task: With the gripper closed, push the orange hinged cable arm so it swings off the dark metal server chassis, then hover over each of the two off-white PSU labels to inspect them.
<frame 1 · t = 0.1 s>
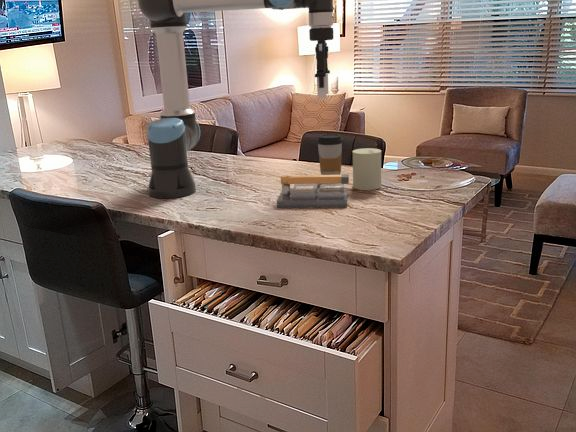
hand: (323, 96, 191), 28 cm above the worktop, fingers open, 13 cm apart
cable arm: (314, 179, 174), point 7 cm above the worktop, hinge at 0.0°
coffee cup: (330, 180, 199), on the worktop
chassis: (313, 200, 176), on the worktop
can: (367, 187, 189), on the worktop
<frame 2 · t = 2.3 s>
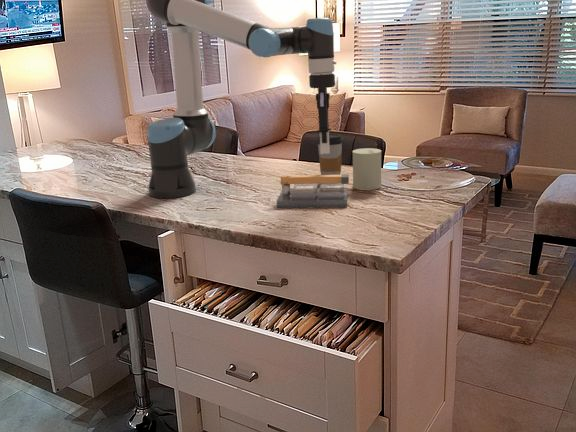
hand: (325, 153, 180), 13 cm above the worktop, fingers closed
nothing on the worktop moved.
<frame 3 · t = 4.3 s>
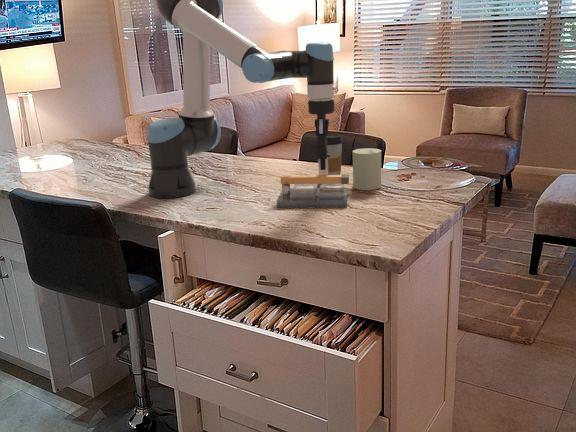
hand: (323, 179, 175), 6 cm above the worktop, fingers closed
cable arm: (314, 179, 174), point 6 cm above the worktop, hinge at 1.1°, touching gripper
everything else where it was.
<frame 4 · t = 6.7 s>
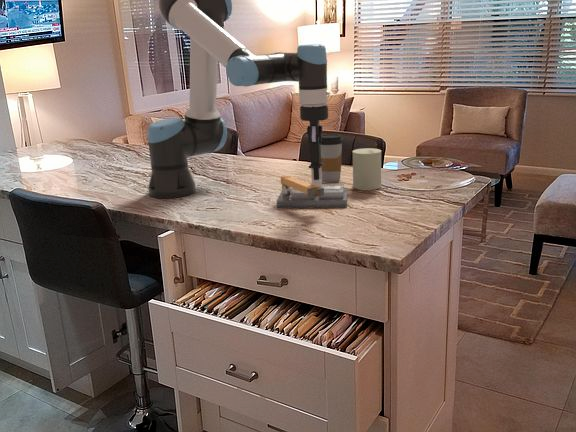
hand: (317, 189, 165), 6 cm above the worktop, fingers closed
cable arm: (299, 185, 168), point 7 cm above the worktop, hinge at 55.7°, touching gripper
everything else where it was.
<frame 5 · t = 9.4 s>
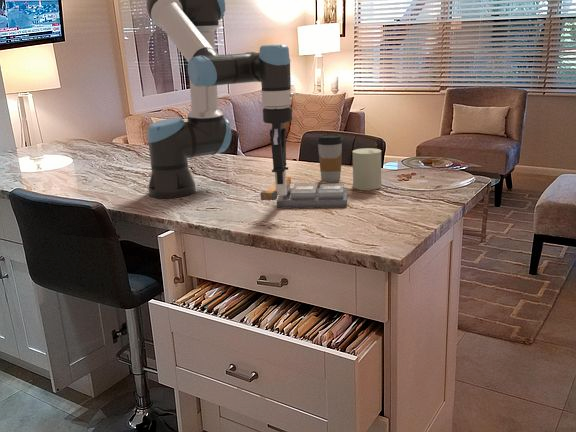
hand: (281, 194, 160), 6 cm above the worktop, fingers closed
cable arm: (278, 187, 167), point 7 cm above the worktop, hinge at 98.2°
everything else where it was.
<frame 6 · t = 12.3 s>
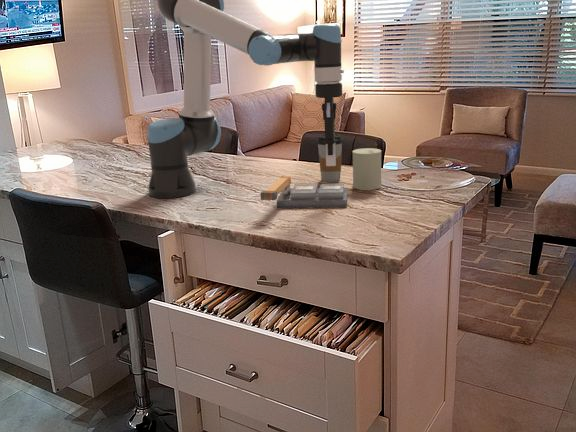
hand: (330, 165, 172), 11 cm above the worktop, fingers closed
nothing on the worktop moved.
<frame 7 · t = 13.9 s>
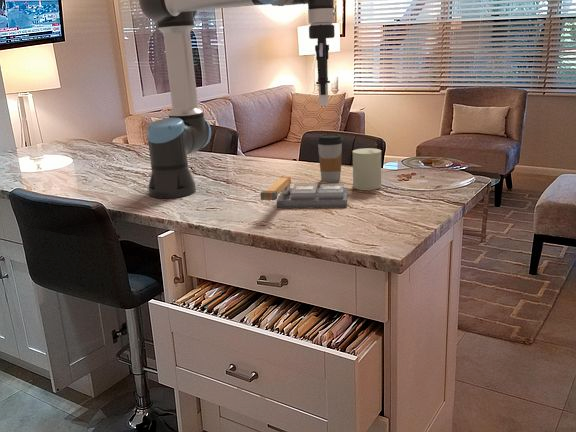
hand: (323, 105, 181), 26 cm above the worktop, fingers closed
nothing on the worktop moved.
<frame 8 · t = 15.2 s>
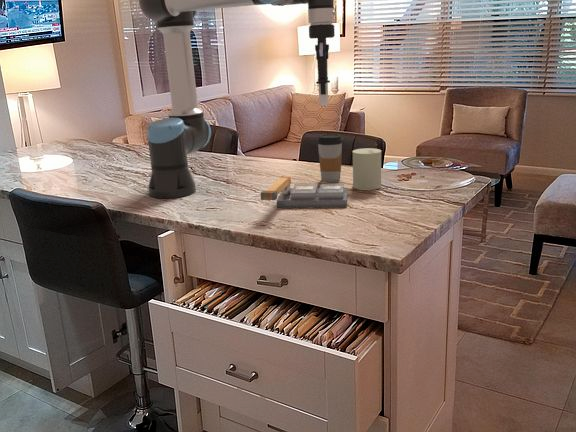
hand: (323, 105, 181), 26 cm above the worktop, fingers closed
nothing on the worktop moved.
at the end: cable arm at +98° (first picture: +0°) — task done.
